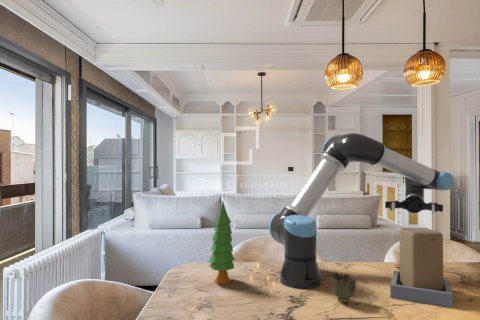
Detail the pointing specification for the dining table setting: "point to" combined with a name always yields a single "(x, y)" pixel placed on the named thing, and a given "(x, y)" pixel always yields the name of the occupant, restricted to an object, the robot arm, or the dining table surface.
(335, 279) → the cup
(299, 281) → the robot arm
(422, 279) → the wooden block
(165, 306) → the dining table surface
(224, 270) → the decorative tree
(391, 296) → the gray square tray
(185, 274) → the dining table surface
